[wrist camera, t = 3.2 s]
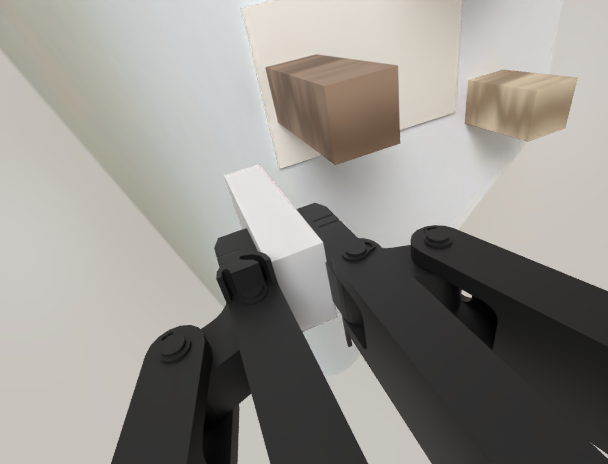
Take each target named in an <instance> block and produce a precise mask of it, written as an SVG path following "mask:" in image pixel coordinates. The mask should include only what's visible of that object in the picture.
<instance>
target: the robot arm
mask: <svg viewBox="0 0 608 464" xmlns="http://www.w3.org/2000/svg"><path fill="white" fill-rule="evenodd" d="M224 177H225V180H226V183H227V186H228V189H229V192H230V195H231V198H232V201H233V204H234V207H235V210H236V213H237V216H238V218H239V221H240V224H241V227H242V230H240V231H237V232H234V233H231V234H228V235H226V236H223V237H220V238H218V240H217V243H216V245H215V248H214V249H215V252H216V256H217V260H218V263H219V267H220V268H219V269H218V271H217V277H216V279H217V282H218V284H219V286H220V289H221V291H222V293H223V296H224V298H225V300H226V302H227V303H226V306H225V307H224V309H223V311H222V312H221V314H220V315H219V316H218V317H217V318H216V319H214V320H213V321H212V322H211V323H209V324H208V325H206V326H205V327H204V328H202V329H200V328H198V327H195V326H192V325H184V326H179V327H176V328H173V329H170V330H169V331H167V332H165V333H164V334H162V335H161V336H159V337H158V338H157V339H156V340H155V341H154V343H153V344H152V345H151V346H150V348H149V350H148V351H147V353H146V355H145V358H144V361H143V365H142V368H141V371H140V374H139V377H138V380H137V383H136V387H135V390H134V393H133V396H132V399H131V402H130V406H129V409H128V412H127V415H126V418H125V421H124V425H123V428H122V431H121V434H120V437H119V441H118V443H117V447H116V450H115V453H114V456H113V459H112V462H111V464H237V461H238V433H239V403H241V402H242V401H243V400H244V399H245V398H246V397H248V396H249V395H250V394H252V397H253V401H254V405H255V408H256V412H257V416H258V420H259V423H260V427H261V430H262V434H263V438H264V442H265V445H266V449H267V453H268V456H269V460H270V464H368V463H367V461H366V459H365V457H364V455H363V453H362V451H361V449H360V447H359V445H358V443H357V441H356V439H355V437H354V435H353V433H352V431H351V429H350V427H349V425H348V423H347V421H346V419H345V417H344V415H343V413H342V411H341V409H340V407H339V405H338V403H337V401H336V399H335V397H334V395H333V393H332V391H331V389H330V387H329V385H328V383H327V381H326V379H325V377H324V375H323V373H322V371H321V369H320V367H319V365H318V363H317V361H316V359H315V357H314V355H313V353H312V351H311V349H310V347H309V345H308V343H307V341H306V339H305V337H304V335H303V333H302V332H303V331H305V330H308V329H310V328H312V327H315V326H317V325H319V324H322V323H324V322H326V321H329V320H331V319H333V318H335V317H337V313H336V308H335V305H336V307H337V308H338V310H339V311H340V313H341V314H342V318H343V324H344V329H345V335H346V341H347V344H348V347H350V346H352V342H351V339H352V340H353V342H354V344H355V345H356V347H357V348H358V350H359V351H360V353H361V354H362V356H363V357H364V359H365V361H366V362H367V364H368V365H369V367H370V368H371V370H372V371H373V373H374V374H375V376H376V378H377V379H378V381H379V382H380V384H381V385H382V387H383V389H384V390H385V392H386V393H387V395H388V396H389V398H390V399H391V401H392V403H393V404H394V406H395V407H396V409H397V410H398V412H399V413H400V415H401V416H402V418H403V420H404V421H405V423H406V424H407V426H408V427H409V429H410V431H411V432H412V433H413V435H414V437H415V438H416V440H417V441H418V443H419V444H420V446H421V448H422V449H423V451H424V452H425V454H426V455H427V457H428V458H429V460H430V461H431V463H432V464H608V458H606V457H605V456H604V455H603V454H602V453H601V452H600V451H599V450H598V449H597V448H596V447H595V446H597V447H598V448H599V449H601V450H602V451H604V452H605V453H607V454H608V291H606V290H603V289H601V288H599V287H596V286H594V285H591V284H589V283H586V282H584V281H581V280H579V279H576V278H574V277H572V276H569V275H566V274H564V273H562V272H559V271H557V270H555V269H552V268H549V267H547V266H545V265H542V264H540V263H537V262H535V261H532V260H530V259H527V258H525V257H523V256H520V255H518V254H515V253H513V252H510V251H508V250H505V249H503V248H501V247H498V246H496V245H493V244H491V243H488V242H486V241H483V240H481V239H479V238H476V237H474V236H471V235H469V234H466V233H464V232H461V231H459V230H457V229H454V228H451V227H447V226H437V225H433V226H427V227H423V228H421V229H419V230H417V231H416V232H415V233H414V234H413V235H412V237H411V245H407V246H401V247H394V248H382V247H381V246H380V245H379V244H377V243H376V242H374V241H372V240H369V239H364V238H357V237H356V236H355V235H354V234H353V233H352V232H351V231H350V230H349V229H348V228H347V227H346V226H345V225H344V224H343V223H342V222H341V221H339V219H338V218H337V217H336V216H335V215H333V213H332V212H331V211H330V210H329V209H328V208H327V207H326V206H323V205H320V204H317V203H313V204H310V205H307V206H304V207H302V208H299V209H295V207H294V206H293V205H292V204H291V202H290V201H289V200H288V199H287V198H286V196H285V195H284V194H283V193H282V191H281V190H280V189H279V188H278V186H277V185H276V184H275V183H274V182H273V180H272V179H271V178H270V177H269V175H268V174H267V173H266V172H265V171H264V169H263V168H262V167H261V166H260V164H258V165H255V166H252V167H249V168H246V169H243V170H239V171H236V172H233V173H230V174H227V175H224ZM462 290H464V291H466V292H467V293H469V294H471V295H472V298H469V297H466V296H464V295H462V294H461V291H462ZM590 442H591V443H590ZM593 444H594V445H595V446H593Z"/></svg>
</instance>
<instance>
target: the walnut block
mask: <svg viewBox="0 0 608 464" xmlns="http://www.w3.org/2000/svg"><path fill="white" fill-rule="evenodd" d="M265 69H266V73H267V78H268V82H269V87H270V91H271V96H272V100H273V105H274V109H275V113H276V118H277V122H278V123H279V124H281V125H282V126H283V127H285V128H286V129H287V130H289V131H290V132H291V133H293V134H294V135H295V136H297V137H298V138H300V139H301V140H302V141H304V142H305V143H306V144H308V145H309V146H310V147H312V148H313V149H314V150H316V151H317V152H318V153H320V154H321V155H322V156H324V157H325V158H326V159H328V160H329V161H331V162H332V163H333V164H335V165H336V164H339V163H342V162H345V161H348V160H352V159H355V158H358V157H361V156H364V155H367V154H370V153H373V152H376V151H379V150H382V149H385V148H388V147H391V146H394V145H397V144H400V119H399V82H398V65H391V64H384V63H377V62H369V61H362V60H355V59H347V58H340V57H333V56H325V55H318V54H315V55H311V56H307V57H303V58H299V59H295V60H291V61H287V62H283V63H280V64H276V65H272V66H268V67H265Z"/></svg>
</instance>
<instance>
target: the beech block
mask: <svg viewBox="0 0 608 464" xmlns="http://www.w3.org/2000/svg"><path fill="white" fill-rule="evenodd" d="M576 82H577V78H575V77H566V76H556V75H547V74H538V73H528V72H519V71H510V70H501V71H497V72H494V73H491V74H487V75H484V76H481V77H477V78H474V79H471V80H468V89H467V102H466V114H465V123H466V124H470V125H473V126H476V127H480V128H483V129H487V130H490V131H493V132H497V133H500V134H504V135H507V136H511V137H514V138H517V139H521V140H524V141H531V140H534V139H536V138H539V137H542V136H545V135H547V134H550V133H553V132H556V131H558V130H561V129H564V128H565V127H566V123H567V119H568V115H569V111H570V107H571V102H572V98H573V94H574V90H575V86H576Z"/></svg>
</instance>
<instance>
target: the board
mask: <svg viewBox="0 0 608 464" xmlns="http://www.w3.org/2000/svg"><path fill="white" fill-rule="evenodd" d="M462 2H463V0H274V1H270V2H265V3H261V4H256V5H251V6H247V7H242V8H241V12H242V16H243V20H244V24H245V28H246V33H247V37H248V41H249V45H250V49H251V53H252V58H253V62H254V66H255V70H256V74H257V79H258V83H259V87H260V91H261V95H262V99H263V104H264V108H265V112H266V116H267V120H268V124H269V129H270V133H271V137H272V141H273V145H274V149H275V154H276V158H277V162H278V166H279V168H280V169H281V168H284V167H287V166H290V165H293V164H296V163H299V162H302V161H306V160H309V159H312V158H315V157H318V156H321V154H320V153H318V152H317V151H316V150H314V149H313V148H312V147H310V146H309V145H308V144H306V143H305V142H304V141H302V140H301V139H300V138H298V137H297V136H295V135H294V134H293V133H291V132H290V131H289V130H287V129H286V128H285V127H283V126H282V125H281V124H279V123H278V122H277V118H276V113H275V109H274V105H273V100H272V96H271V91H270V87H269V82H268V78H267V73H266V69H265V67H268V66H272V65H276V64H280V63H283V62H287V61H291V60H295V59H299V58H303V57H307V56H311V55H315V54H318V55H325V56H333V57H340V58H347V59H355V60H362V61H369V62H377V63H384V64H391V65H398V82H399V119H400V130H402V129H405V128H408V127H411V126H414V125H417V124H421V123H424V122H427V121H430V120H433V119H436V118H439V117H442V116H445V115H448V114H452V113H455V112H456V97H457V82H458V66H459V50H460V34H461V18H462Z"/></svg>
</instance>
